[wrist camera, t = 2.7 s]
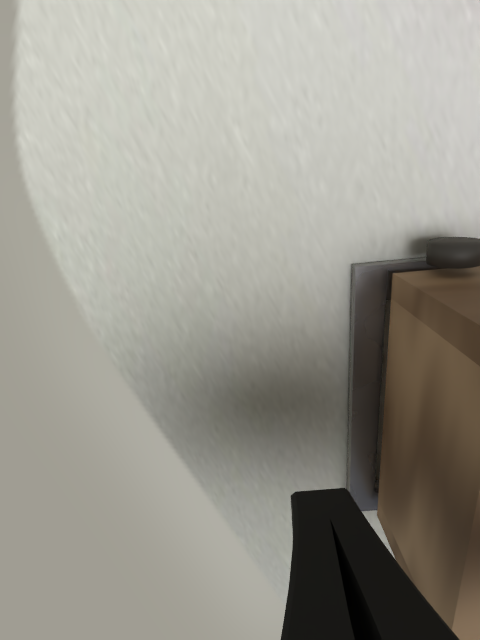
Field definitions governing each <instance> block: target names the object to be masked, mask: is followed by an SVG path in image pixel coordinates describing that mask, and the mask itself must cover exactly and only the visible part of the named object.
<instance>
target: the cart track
mask: <svg viewBox="0 0 480 640" xmlns="http://www.w3.org/2000/svg"><path fill="white" fill-rule="evenodd" d="M436 269H447V268H440V267H434V266H430V265H428V264H426V257H425V258H414V259H403V260H392V261H381V262H370V263H359V264H352V282H351V327H350V372H349V416H348V461H347V490H348V491H349V492H350V494H351V496H352V497H353V499H354V501H355V502H356V504H357V505H358V507H359V509H360V510H361V511H370V510H377V509H378V494H379V480H375V475H376V458H377V441H378V424H379V407H380V390H381V373H382V356H383V339H384V322H385V305H386V300H391V292H392V276H393V273H402V272H413V271H424V270H436Z"/></svg>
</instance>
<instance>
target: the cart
mask: <svg viewBox="0 0 480 640" xmlns="http://www.w3.org/2000/svg"><path fill="white" fill-rule="evenodd" d="M426 264H428V265H430V266H434V267H440V268H447V269H436V270H424V271H413V272H402V273H393V276H392V292H391V307H390V323H389V339H388V354H387V370H386V385H385V401H384V416H383V432H382V447H381V463H380V478H379V494H378V509H377V516H378V518H379V521H380V523H381V525H382V528H383V530H384V533H385V535H386V537H387V540H388V542H389V544H390V547H391V549H392V552H393V554H394V556H395V559H396V561H397V563H398V564H399V565H400V566H401V568H402V569H403V570H404V572H405V573H406V574H407V576H408V577H409V578H410V580H411V581H412V582H413V584H414V585H415V586H416V587H417V589H418V590H419V591H420V592H421V594H422V595H423V596H424V597H425V599H426V600H427V601H428V602H429V604H430V605H431V606H432V607H433V608H434V610H435V611H436V612H437V613H438V614H439V616H440V617H441V618H442V619H443V620H444V622H445V623H446V624H447V625H448V626H449V628H450V629H451V630H452V631H453V632H454V633H455V635H456V636H457V637H458V638H459V639H460V640H480V239H477V238H467V237H447V238H437V239H432V240H429V241H428V244H427V254H426Z"/></svg>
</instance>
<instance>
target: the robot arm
mask: <svg viewBox="0 0 480 640" xmlns="http://www.w3.org/2000/svg"><path fill="white" fill-rule="evenodd" d="M291 508H292V526H293V551H292V561H291V572H290V582H289V590H288V597H287V603H286V610H285V617H284V623H283V629H282V636H281V640H460V639H459V638H458V637H457V636H456V635H455V633H454V632H453V631H452V630H451V629H450V628H449V626H448V625H447V624H446V623H445V622H444V620H443V619H442V618H441V617H440V616H439V614H438V613H437V612H436V611H435V610H434V608H433V607H432V606H431V605H430V604H429V602H428V601H427V600H426V599H425V597H424V596H423V595H422V594H421V592H420V591H419V590H418V589H417V587H416V586H415V585H414V584H413V582H412V581H411V580H410V578H409V577H408V576H407V574H406V573H405V572H404V570H403V569H402V568H401V566H400V565H399V564H398V563H397V561H396V560H395V559H394V557H393V556H392V555H391V553H390V552H389V551H388V549H387V548H386V546H385V545H384V544H383V542H382V541H381V539H380V538H379V537H378V535H377V534H376V532H375V531H374V529H373V528H372V527H371V525H370V524H369V522H368V521H367V519H366V518H365V516H364V515H363V513H362V512H361V510H360V509H359V507H358V505H357V504H356V502H355V501H354V499H353V497H352V496H351V494H350V492H349V491H348V490H347V489H345V488H339V489H326V490H313V491H300V492H295V493H293V494H292V495H291Z"/></svg>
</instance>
